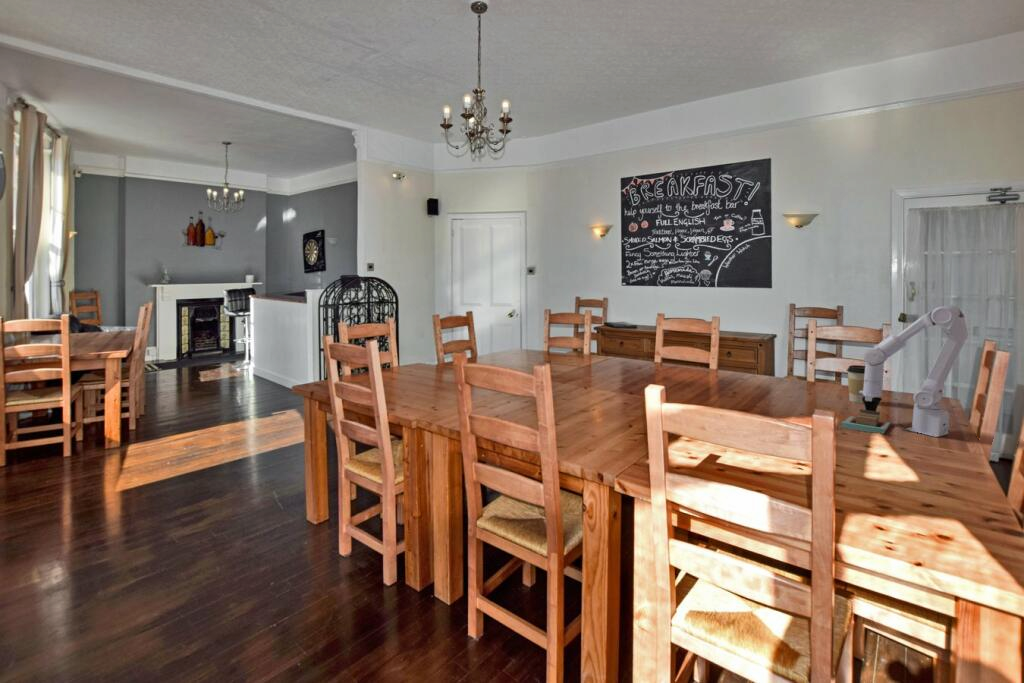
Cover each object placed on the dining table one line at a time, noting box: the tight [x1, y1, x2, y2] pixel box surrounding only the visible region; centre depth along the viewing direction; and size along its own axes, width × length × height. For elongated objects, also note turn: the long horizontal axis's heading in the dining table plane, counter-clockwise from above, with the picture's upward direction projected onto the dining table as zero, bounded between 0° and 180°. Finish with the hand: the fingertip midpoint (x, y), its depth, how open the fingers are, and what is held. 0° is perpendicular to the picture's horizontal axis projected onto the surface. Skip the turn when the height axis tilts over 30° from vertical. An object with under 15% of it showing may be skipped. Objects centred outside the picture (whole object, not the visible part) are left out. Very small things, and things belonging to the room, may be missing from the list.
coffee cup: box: [846, 364, 865, 404], centre depth 225 cm, size 10×10×15 cm
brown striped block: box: [855, 408, 881, 427], centre depth 193 cm, size 7×6×4 cm
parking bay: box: [840, 415, 891, 435], centre depth 190 cm, size 14×12×2 cm
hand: (870, 416), depth 196 cm, fingers closed
